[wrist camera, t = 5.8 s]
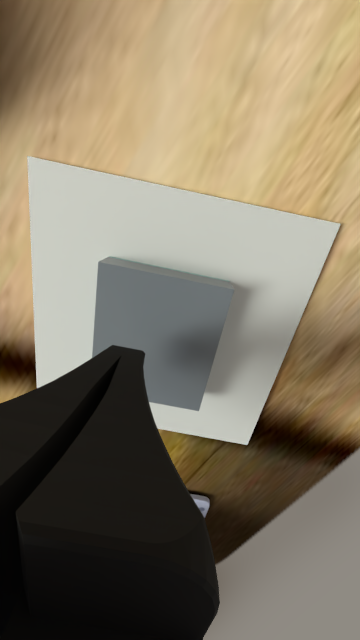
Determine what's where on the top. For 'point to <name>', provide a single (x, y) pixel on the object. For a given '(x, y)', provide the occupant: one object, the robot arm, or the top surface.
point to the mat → (179, 254)
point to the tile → (162, 325)
